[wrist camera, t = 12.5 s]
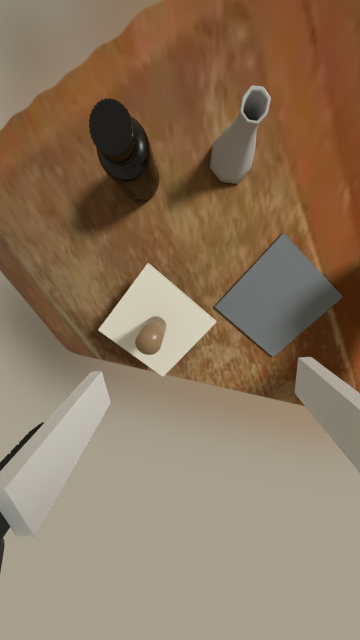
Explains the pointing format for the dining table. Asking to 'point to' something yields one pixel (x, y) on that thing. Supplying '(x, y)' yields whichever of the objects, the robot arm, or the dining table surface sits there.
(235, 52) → the dining table surface
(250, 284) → the mat
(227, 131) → the flask
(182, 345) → the board
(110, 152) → the supplement bottle
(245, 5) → the dining table surface
